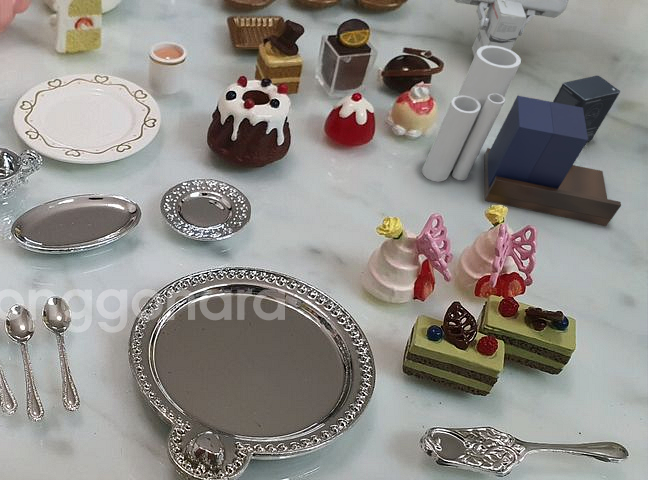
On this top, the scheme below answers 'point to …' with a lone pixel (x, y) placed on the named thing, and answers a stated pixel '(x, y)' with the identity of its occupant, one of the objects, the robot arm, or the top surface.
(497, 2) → the ink box
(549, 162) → the matching cartons
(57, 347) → the top surface
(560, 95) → the box
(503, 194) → the shelf
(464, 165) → the vase
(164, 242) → the top surface
